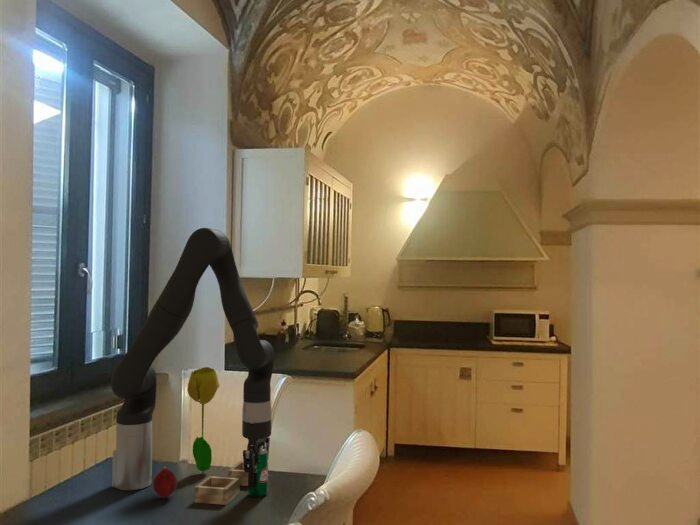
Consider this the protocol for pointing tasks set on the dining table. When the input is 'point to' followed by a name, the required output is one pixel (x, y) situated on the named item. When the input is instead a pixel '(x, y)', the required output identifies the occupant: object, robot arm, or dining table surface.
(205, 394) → the flower
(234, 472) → the oak endcap
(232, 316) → the robot arm
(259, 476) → the soda can
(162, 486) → the onion
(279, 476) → the dining table surface
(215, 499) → the oak endcap
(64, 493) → the dining table surface
